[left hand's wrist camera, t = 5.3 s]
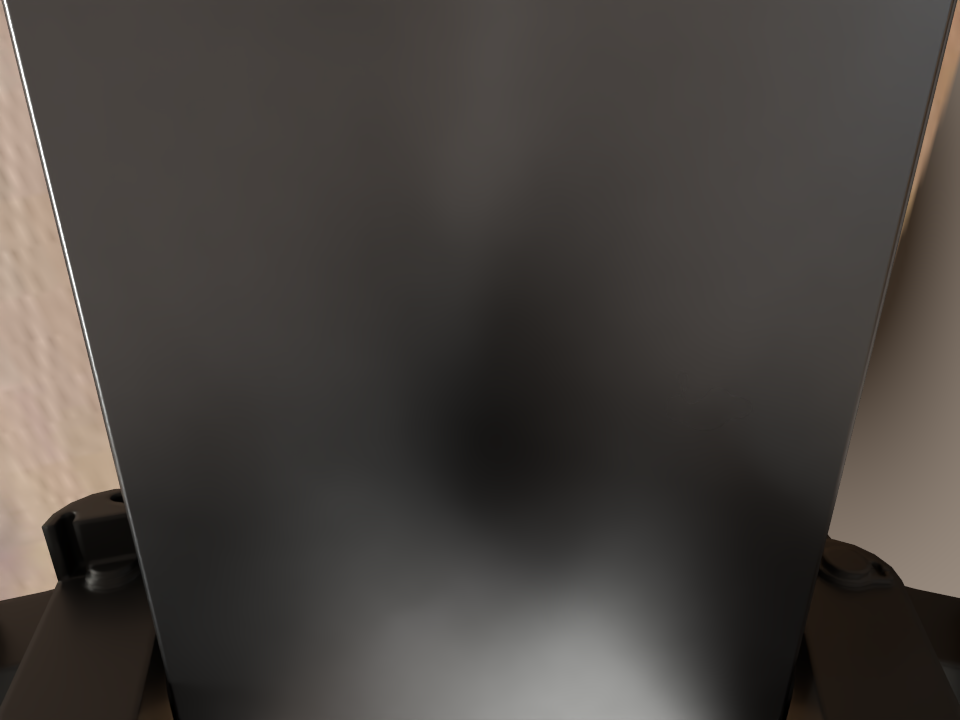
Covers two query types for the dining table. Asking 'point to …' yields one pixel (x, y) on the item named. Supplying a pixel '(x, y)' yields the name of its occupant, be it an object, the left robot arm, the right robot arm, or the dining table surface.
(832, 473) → the bar
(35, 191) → the dining table surface
